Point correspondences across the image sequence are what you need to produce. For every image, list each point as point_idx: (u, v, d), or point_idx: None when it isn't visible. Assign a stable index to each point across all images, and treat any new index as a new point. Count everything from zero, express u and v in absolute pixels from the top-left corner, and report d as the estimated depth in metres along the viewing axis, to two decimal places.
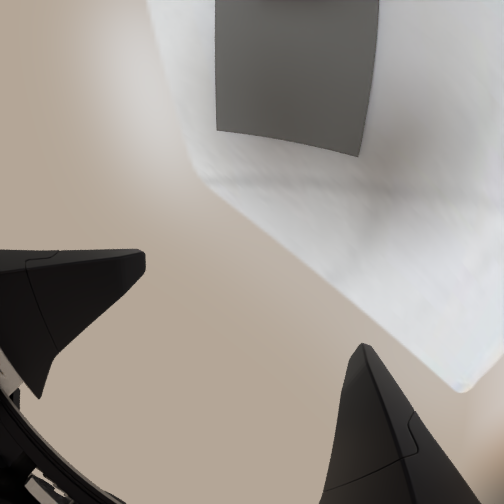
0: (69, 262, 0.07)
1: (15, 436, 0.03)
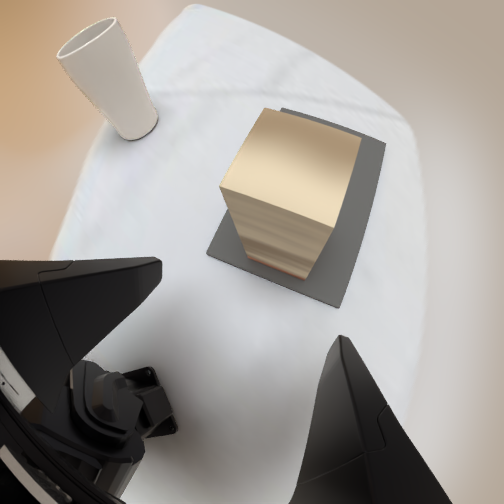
0: (86, 273, 0.07)
1: (15, 436, 0.03)
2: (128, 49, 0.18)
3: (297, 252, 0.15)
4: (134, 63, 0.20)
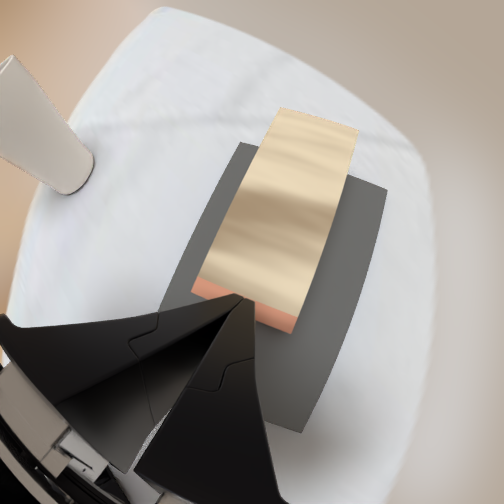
0: (185, 332, 0.06)
1: (15, 436, 0.03)
2: (30, 94, 0.12)
3: (317, 192, 0.13)
4: (43, 108, 0.14)
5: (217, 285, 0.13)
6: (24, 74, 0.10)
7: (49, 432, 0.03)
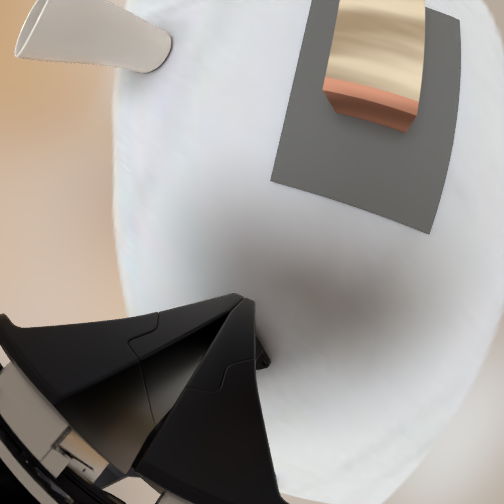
0: (185, 332, 0.06)
1: (15, 436, 0.03)
2: (89, 0, 0.10)
3: (405, 10, 0.08)
4: (106, 6, 0.12)
5: (345, 81, 0.11)
6: None
7: (49, 432, 0.03)
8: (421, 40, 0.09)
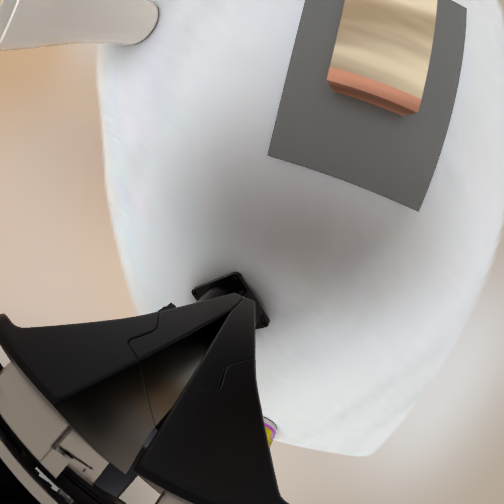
0: (185, 332, 0.06)
1: (15, 436, 0.03)
2: None
3: (416, 3, 0.07)
4: None
5: (350, 72, 0.11)
6: None
7: (49, 432, 0.03)
8: (430, 37, 0.08)
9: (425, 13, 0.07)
